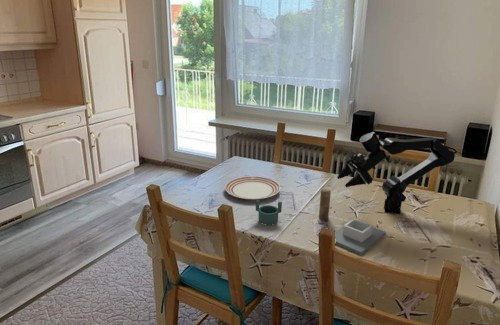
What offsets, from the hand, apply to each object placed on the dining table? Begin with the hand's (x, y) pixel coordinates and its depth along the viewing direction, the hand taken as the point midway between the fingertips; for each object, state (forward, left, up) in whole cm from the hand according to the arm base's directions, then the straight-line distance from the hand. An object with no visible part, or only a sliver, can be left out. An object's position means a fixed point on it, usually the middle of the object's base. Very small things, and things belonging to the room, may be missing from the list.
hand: (341, 182), depth 153 cm
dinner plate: (+43, -7, -15) cm, 46 cm away
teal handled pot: (+26, +18, -15) cm, 35 cm away
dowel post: (+5, +7, -15) cm, 17 cm away
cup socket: (-10, +18, -15) cm, 25 cm away
